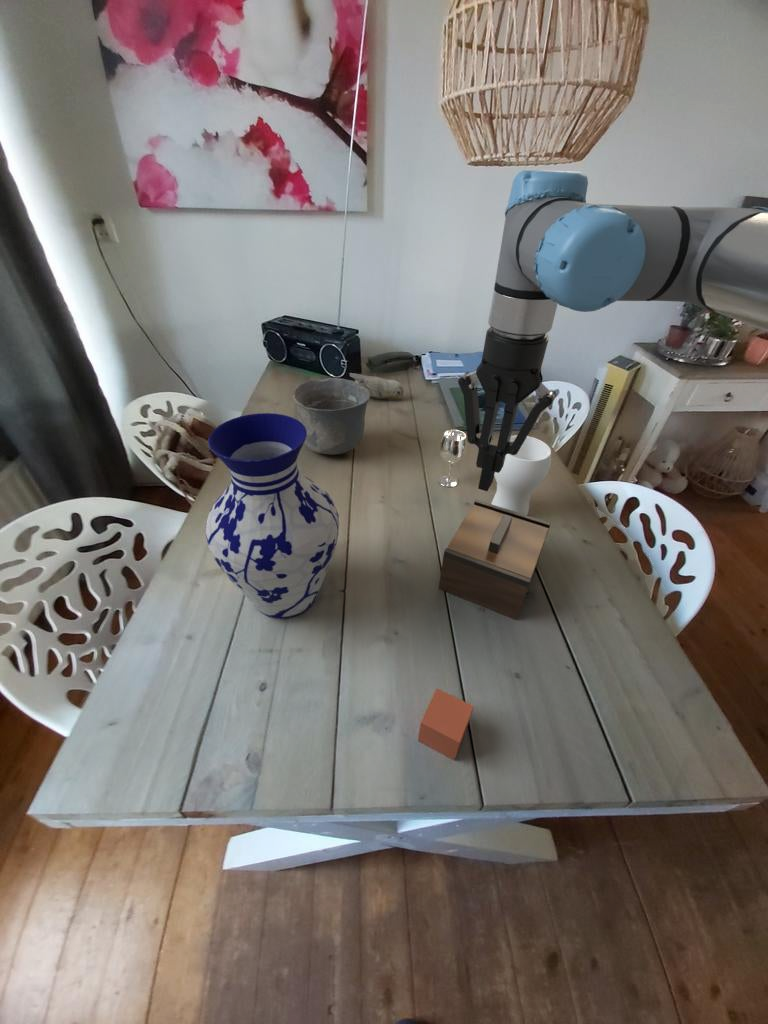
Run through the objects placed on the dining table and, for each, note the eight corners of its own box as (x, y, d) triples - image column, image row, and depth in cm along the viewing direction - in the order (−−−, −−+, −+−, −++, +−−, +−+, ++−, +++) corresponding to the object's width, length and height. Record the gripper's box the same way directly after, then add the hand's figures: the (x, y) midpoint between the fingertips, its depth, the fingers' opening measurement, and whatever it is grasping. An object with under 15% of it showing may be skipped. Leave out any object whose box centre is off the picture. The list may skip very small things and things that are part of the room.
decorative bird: (402, 404, 131) (403, 380, 126) (348, 400, 132) (348, 376, 127) (403, 396, 135) (404, 373, 130) (351, 393, 136) (351, 369, 131)
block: (454, 760, 54) (459, 742, 51) (417, 740, 56) (420, 722, 53) (468, 724, 58) (473, 706, 54) (432, 707, 59) (436, 687, 56)
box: (516, 620, 71) (529, 582, 65) (438, 588, 75) (444, 551, 70) (538, 559, 82) (551, 522, 76) (468, 535, 86) (475, 499, 81)
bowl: (375, 435, 116) (376, 380, 106) (363, 472, 102) (363, 413, 93) (310, 429, 118) (305, 374, 108) (289, 464, 104) (281, 405, 95)
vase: (272, 664, 64) (231, 500, 45) (205, 592, 74) (149, 433, 55) (366, 592, 74) (365, 436, 55) (297, 538, 84) (276, 390, 65)
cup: (505, 488, 99) (519, 428, 89) (545, 511, 93) (565, 450, 83) (473, 506, 93) (485, 444, 84) (514, 532, 87) (531, 469, 78)
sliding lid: (529, 582, 67) (534, 569, 65) (446, 551, 71) (448, 538, 70) (547, 531, 76) (552, 519, 74) (472, 507, 80) (475, 495, 79)
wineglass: (432, 484, 99) (437, 438, 92) (440, 472, 103) (446, 426, 96) (456, 491, 97) (464, 444, 90) (464, 478, 101) (471, 432, 94)
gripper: (578, 330, 54) (532, 485, 69) (477, 313, 59) (454, 462, 74) (567, 348, 49) (520, 511, 64) (457, 328, 53) (437, 485, 68)
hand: (485, 485), depth 69 cm, fingers closed
